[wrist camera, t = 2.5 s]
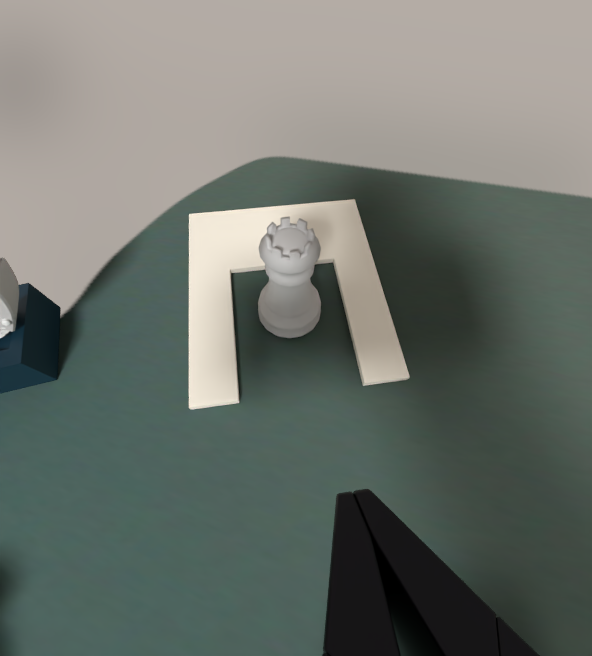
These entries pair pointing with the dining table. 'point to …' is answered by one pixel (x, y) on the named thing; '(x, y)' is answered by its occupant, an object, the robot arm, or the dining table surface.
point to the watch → (26, 334)
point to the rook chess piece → (289, 279)
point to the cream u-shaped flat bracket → (243, 255)
